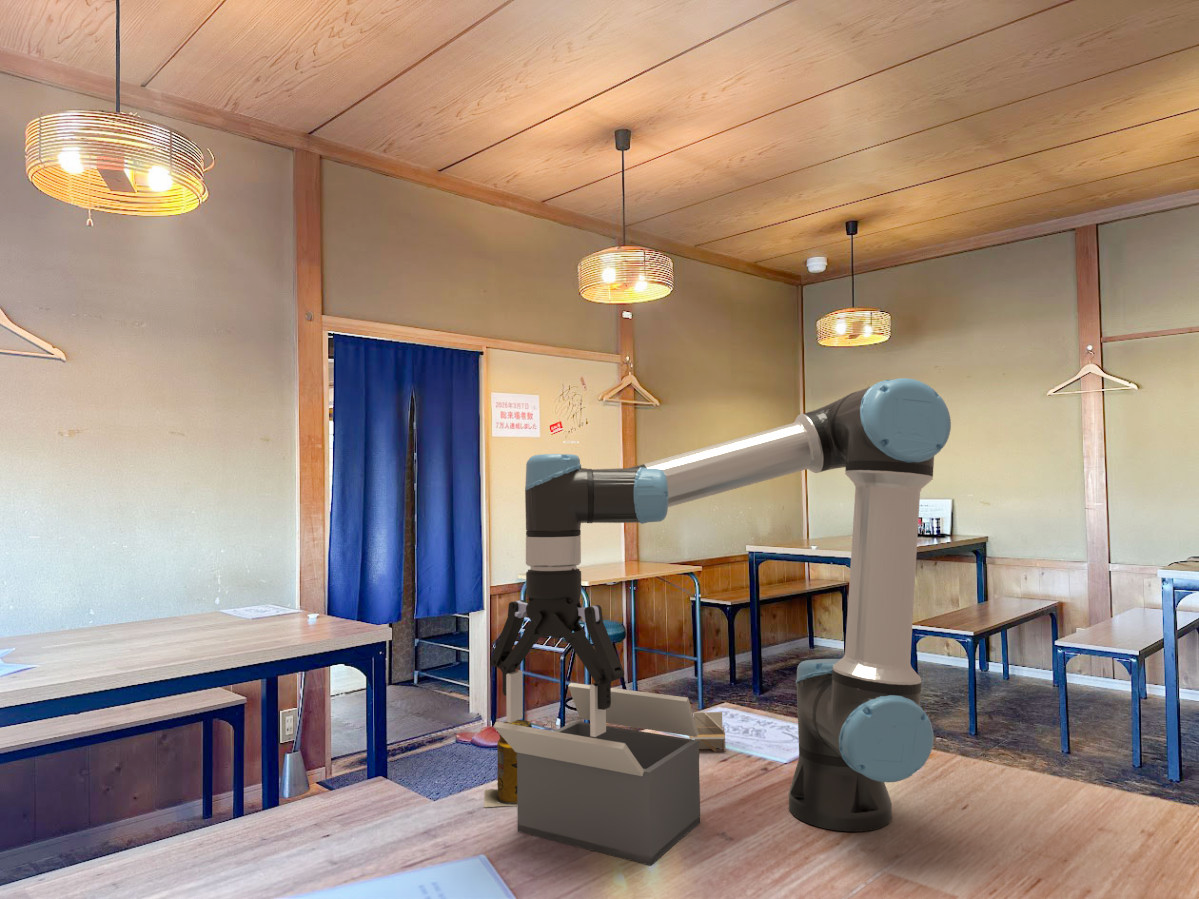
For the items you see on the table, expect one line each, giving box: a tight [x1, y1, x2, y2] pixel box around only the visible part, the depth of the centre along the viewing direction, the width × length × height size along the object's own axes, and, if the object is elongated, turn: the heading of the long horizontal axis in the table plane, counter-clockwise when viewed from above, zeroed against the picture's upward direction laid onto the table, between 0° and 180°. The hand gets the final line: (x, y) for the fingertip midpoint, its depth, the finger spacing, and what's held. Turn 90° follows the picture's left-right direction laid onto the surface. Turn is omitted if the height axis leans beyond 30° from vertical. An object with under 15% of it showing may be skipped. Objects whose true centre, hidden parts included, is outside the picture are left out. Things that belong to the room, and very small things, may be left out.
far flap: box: [567, 682, 699, 737], centre depth 123 cm, size 21×7×1 cm
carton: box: [516, 720, 701, 866], centre depth 116 cm, size 22×16×12 cm
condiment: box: [483, 719, 533, 808], centre depth 128 cm, size 7×8×12 cm
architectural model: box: [688, 711, 726, 752], centre depth 151 cm, size 3×7×7 cm, turn 90°
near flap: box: [493, 721, 644, 776], centre depth 107 cm, size 21×7×1 cm
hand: (555, 727), depth 105 cm, fingers open, 13 cm apart
